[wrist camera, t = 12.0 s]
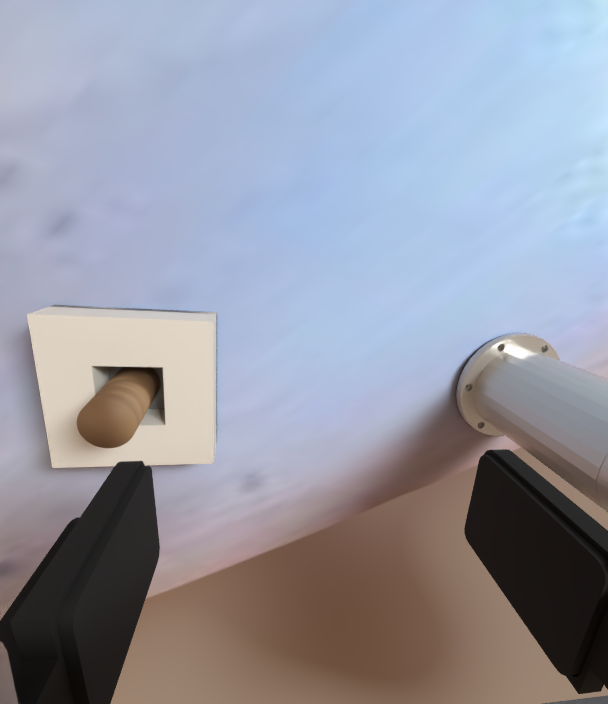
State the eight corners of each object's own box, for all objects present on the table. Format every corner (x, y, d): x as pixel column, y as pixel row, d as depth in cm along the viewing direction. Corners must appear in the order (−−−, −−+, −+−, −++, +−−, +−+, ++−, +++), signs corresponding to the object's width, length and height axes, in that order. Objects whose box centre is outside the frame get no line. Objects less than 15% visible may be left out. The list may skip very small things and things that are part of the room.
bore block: (217, 312, 33) (212, 321, 29) (216, 440, 37) (213, 463, 33) (54, 305, 30) (26, 314, 26) (73, 443, 34) (52, 467, 31)
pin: (158, 362, 32) (132, 398, 25) (161, 400, 34) (138, 446, 26) (112, 363, 32) (72, 401, 24) (117, 402, 33) (81, 449, 25)
